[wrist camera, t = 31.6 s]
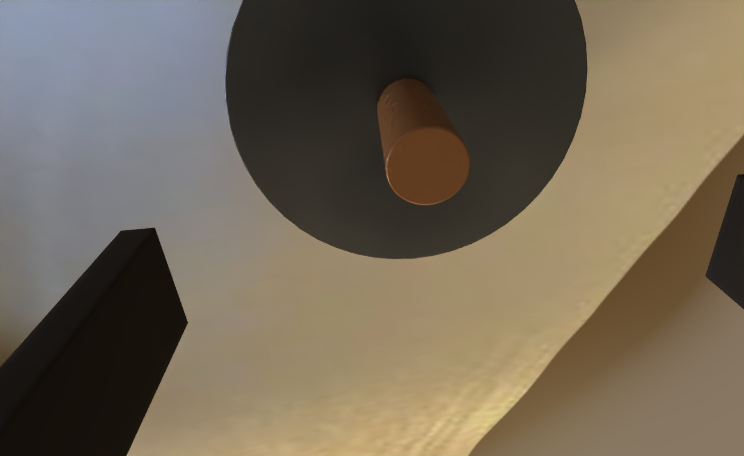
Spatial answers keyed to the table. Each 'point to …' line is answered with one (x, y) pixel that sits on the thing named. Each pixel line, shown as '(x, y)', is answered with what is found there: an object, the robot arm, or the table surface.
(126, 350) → the robot arm
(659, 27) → the table surface
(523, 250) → the table surface
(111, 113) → the table surface
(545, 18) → the lid
